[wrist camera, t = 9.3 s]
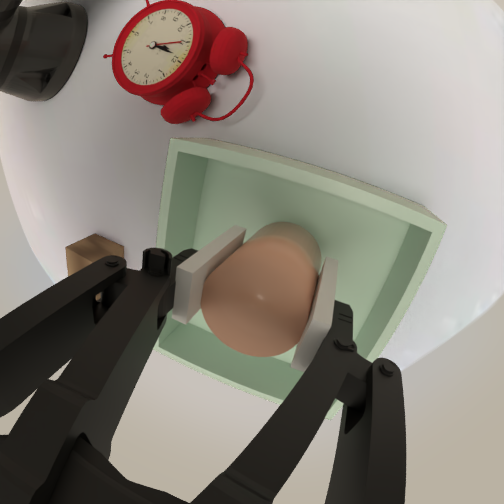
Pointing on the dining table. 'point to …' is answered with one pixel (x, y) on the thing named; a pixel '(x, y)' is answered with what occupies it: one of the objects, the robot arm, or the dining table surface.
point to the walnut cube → (90, 252)
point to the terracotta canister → (264, 291)
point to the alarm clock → (177, 58)
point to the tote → (310, 218)
